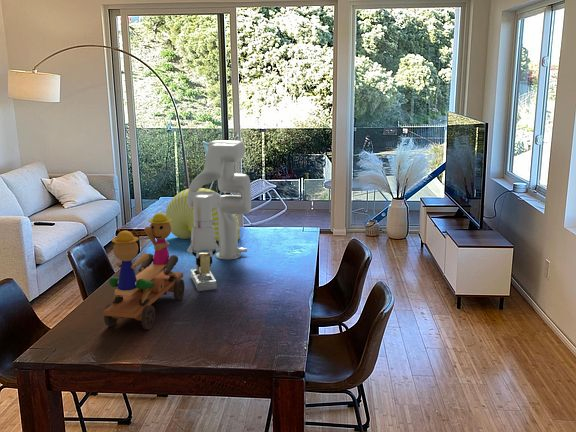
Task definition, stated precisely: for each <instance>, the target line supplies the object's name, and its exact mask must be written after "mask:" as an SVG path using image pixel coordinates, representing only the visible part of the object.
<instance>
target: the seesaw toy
mask: <svg viewBox="0 0 576 432" xmlns="http://www.w3.org/2000/svg"><path fill="white" fill-rule="evenodd" d="M171 221H172V220H171V219H169V218H167V216H166V213H163V212H156V213H155V214H154V215H153V217H152V218H151V219H148V223H150V225H149V226H148V225H147V226H145V227H144V229H143V232H144V233H145V234H146V236H147V237H148V239H149V240H150V241H151V243H152V244H153V246H154V247H153V248H154V254H153V253H146V252H143V253H142V254H141V255H140V256H139V257H138V258H137V260H136V261H134V263H133V262H132V260H134V259H135V258H136V257H137V255H138V252H139V246H138V243H137V241H139V239H140V238H139V237H138V236H135V235H133V233H132V232H131V231H128V230H122V231H119V232H118V234H117V236H116V237H114V238H112V239H111V242H112V243H114V245H113V247H112V249H113V251H112V253H113V255H114V257H116V259H118V260H119V261H121V263H116V267H118V268H120V270H119V275H118V277H117V276H113V277H110V278H109V281H108V284H109V286H110V287H112V288H116V289H114V296H113V301H112V302H109V303H108V304H107V305H106V307H105V309H104V310H103V311H102V314H103V321H104V324H105V325H106V326H107V327H113V326H115V325H116V324H117V323H118V320H123V319H125V318H129V319H135V320H136V321H140V322H141V327H142V328H143V330H148V331H149V330H151V329H152V328H153V326H154V324H155V320H156V310H155V307H154V306H153V305H152V304H153V303H155V302H156V301H157V300H159V298H161V296H163V295H167V294H168V293H173V297H174V300H176V301H181V300H182V299H183V297H184V296H185V281H184V280H183V278H184V272H177V271H176V272H175V271H172V270H173V269H174V268H175V266H176V265H177V263H179V257H178V256H177V255H175V254H173V255H170V254H169V253H170V252H169V250H168V246H170V242H168V241H166V239H167V238H168V237H169V236H170V235H171V234H172V232H171V225H170V223H169V222H171ZM138 266H140V267H139V268H138V272H139V273H137V274H136V273H135V269H136V268H137V267H138Z"/></svg>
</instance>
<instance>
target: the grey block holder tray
mask: <svg viewBox="0 0 576 432" xmlns="http://www.w3.org/2000/svg"><path fill="white" fill-rule="evenodd" d="M190 278H191V280H192V282H193V284H194V287H195V288H196V291H198V292H201V291H209V290H217V287H218V286H217V280H216V278H215V276H214V275H213V273H212V272H211V271H210V273H209V274H199V275H196V268H195V269H190Z"/></svg>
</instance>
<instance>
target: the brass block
mask: <svg viewBox="0 0 576 432" xmlns="http://www.w3.org/2000/svg"><path fill="white" fill-rule="evenodd" d="M199 258H200V267H199V272H200V274H209V273H210V272H211V266H210V255H209V252H200V253H199Z"/></svg>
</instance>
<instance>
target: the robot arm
mask: <svg viewBox="0 0 576 432" xmlns="http://www.w3.org/2000/svg"><path fill="white" fill-rule="evenodd" d="M207 147H208V148H207V151H206V156H205V160H204V165H203V170H202V171H201V172H200V173H198V174H197V175H196V176H195V177H194V178H193V179H192V181H191V182H190V184H189V188H188V189H189V192H188V197H187V203H188V206H189V207H190V208H193V209H194V227H192V232H191V238H190V245H189V246H188V248H187V249H186V251H187V253H189V254H190V255H192V256H193V257H194V258H195V266H196V265H198V267H200V258H199V253H201V252H206V251H208V252H207V253H209V255H210V267H212V264H213V257H214V255H215V257H216V258H217V259H218V260H219V259H220V260H231V261H232V260H236V259H239V258H241V257H242V254H241V253H247V252H248V248H247V247H245V248H244V247H239V246H238V244H239V242H238V241H239V240H238V236H237V221H236V219H235V217H234V216H233V215H232V214H236V215H248V214H250V212H251V211H252V197H251V196H252V191H251V190H252V189H251V188H252V187H251V179H250V176H249V175H248V174H246V173H236V172H235V170H236V169H235V164H236V163H238V162H239V161H241V160H242V159H243V158H244V156H245V153H246V146H245V144H244V142H243V141H241V140H222V139H221V140H212V141H210V142H209V143H208V144H207ZM216 181H217V188H218V191H219V192H221V193H227V194H220V193H218V192H217V191H215V192H205V191H198V190H199V189H200V188H203V187H204V186H206V185H208V184H211V183H213V182H216ZM219 194H220V195H221V196H220V195H219ZM236 194H237V195H236ZM212 209H217V215H218V236H219V242H217V241H216V238H215V231H214V227H213V226H212V225H213V224H215V221H213V220H212Z"/></svg>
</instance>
